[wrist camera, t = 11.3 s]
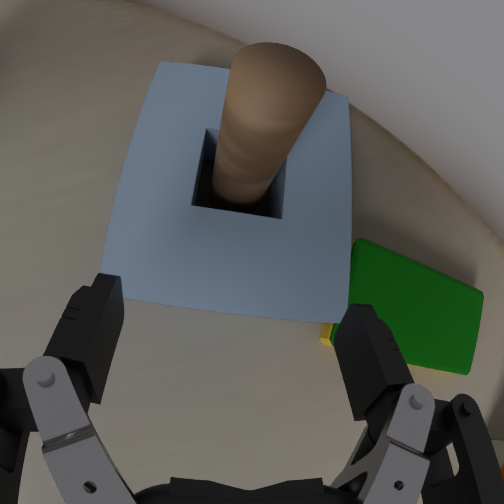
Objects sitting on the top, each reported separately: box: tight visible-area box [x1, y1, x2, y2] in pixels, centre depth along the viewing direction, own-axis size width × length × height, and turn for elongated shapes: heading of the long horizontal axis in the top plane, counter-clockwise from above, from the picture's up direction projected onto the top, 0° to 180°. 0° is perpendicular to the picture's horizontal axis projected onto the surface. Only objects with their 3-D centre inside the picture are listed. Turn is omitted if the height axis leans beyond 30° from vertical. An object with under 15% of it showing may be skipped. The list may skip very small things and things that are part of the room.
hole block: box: [100, 61, 352, 323], centre depth 19 cm, size 13×15×4 cm
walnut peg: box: [210, 43, 326, 215], centre depth 15 cm, size 3×3×12 cm
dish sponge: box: [320, 238, 484, 375], centre depth 21 cm, size 7×14×2 cm, turn 72°
